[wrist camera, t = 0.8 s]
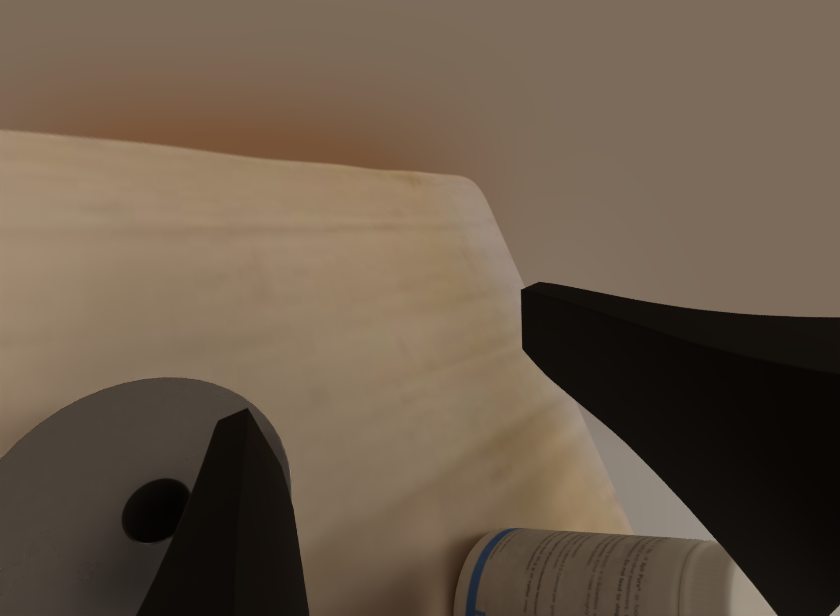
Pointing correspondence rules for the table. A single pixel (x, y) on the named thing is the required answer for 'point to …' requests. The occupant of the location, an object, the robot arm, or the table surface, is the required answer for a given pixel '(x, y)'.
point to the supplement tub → (602, 577)
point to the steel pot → (106, 494)
